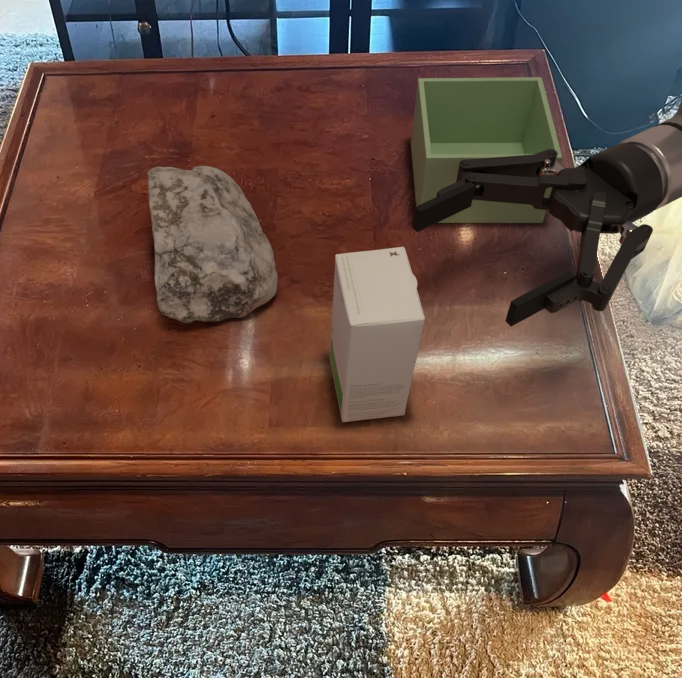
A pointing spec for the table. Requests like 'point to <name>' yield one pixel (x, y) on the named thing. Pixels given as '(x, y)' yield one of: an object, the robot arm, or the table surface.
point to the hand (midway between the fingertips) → (460, 264)
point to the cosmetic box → (374, 332)
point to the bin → (478, 136)
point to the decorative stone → (207, 246)
